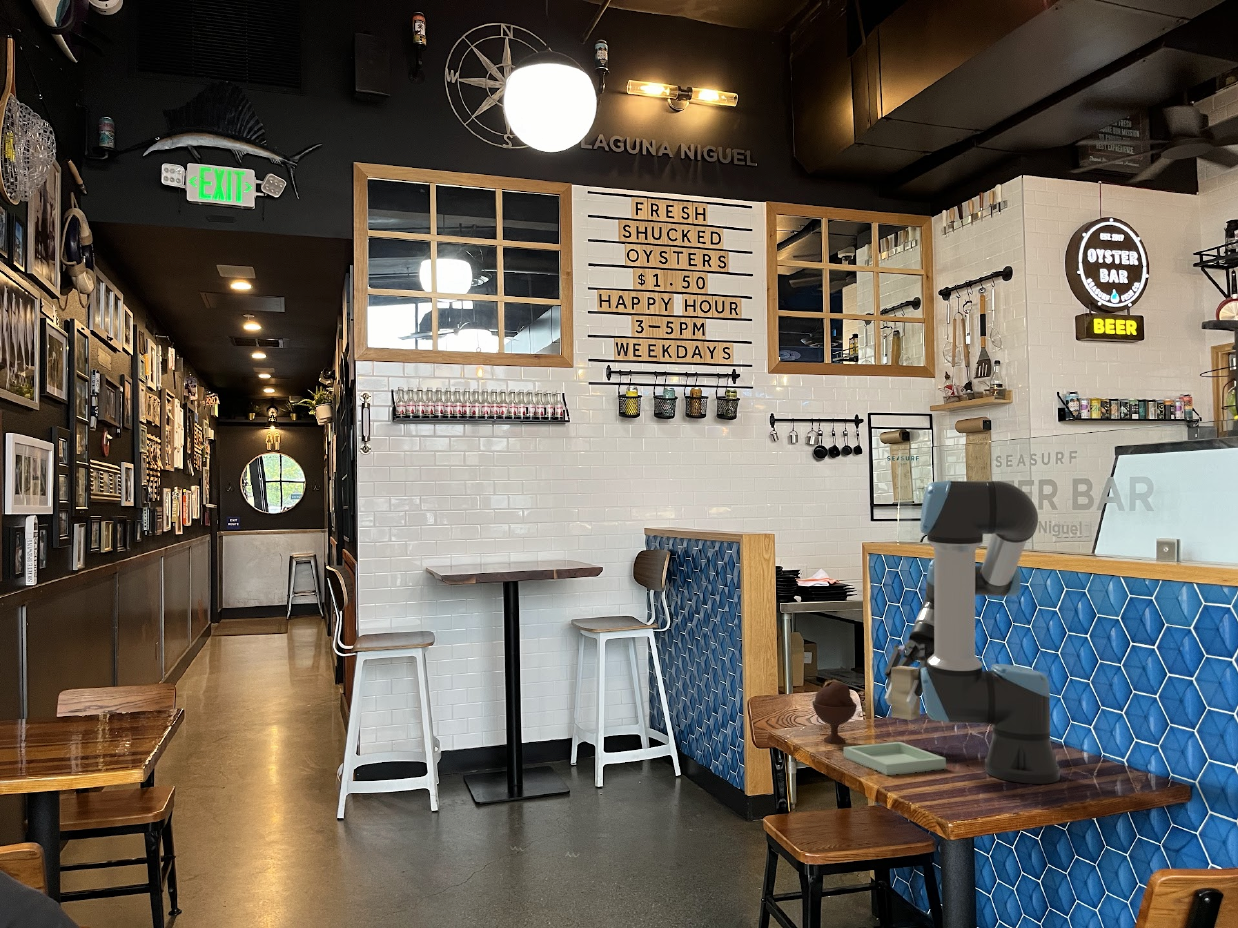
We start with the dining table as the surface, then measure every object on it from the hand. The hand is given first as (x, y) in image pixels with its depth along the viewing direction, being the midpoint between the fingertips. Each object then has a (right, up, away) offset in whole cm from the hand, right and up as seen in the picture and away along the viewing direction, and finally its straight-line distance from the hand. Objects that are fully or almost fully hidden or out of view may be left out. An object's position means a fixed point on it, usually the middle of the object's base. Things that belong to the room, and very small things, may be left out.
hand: (898, 702), depth 223 cm
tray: (-5, -10, -14) cm, 18 cm away
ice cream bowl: (-14, -11, +6) cm, 19 cm away
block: (+3, -4, +2) cm, 5 cm away
